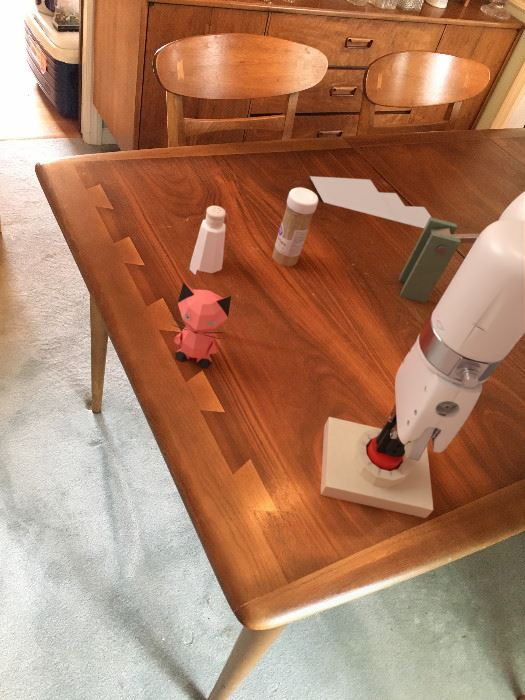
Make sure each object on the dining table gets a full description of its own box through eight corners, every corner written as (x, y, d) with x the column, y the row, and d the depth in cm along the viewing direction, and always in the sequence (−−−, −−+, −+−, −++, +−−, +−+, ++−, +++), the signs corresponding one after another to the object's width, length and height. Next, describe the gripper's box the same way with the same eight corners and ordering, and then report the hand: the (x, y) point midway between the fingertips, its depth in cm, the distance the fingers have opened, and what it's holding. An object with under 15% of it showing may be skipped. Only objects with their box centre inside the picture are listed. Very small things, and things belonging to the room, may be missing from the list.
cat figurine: (162, 365, 73) (170, 298, 64) (177, 329, 78) (186, 263, 69) (214, 379, 73) (229, 315, 64) (225, 343, 78) (241, 279, 69)
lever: (515, 233, 86) (518, 220, 85) (522, 254, 83) (526, 241, 81) (428, 235, 88) (429, 222, 87) (431, 256, 85) (432, 242, 83)
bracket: (439, 287, 98) (478, 222, 88) (444, 322, 91) (487, 256, 82) (374, 270, 97) (405, 203, 87) (375, 304, 91) (409, 236, 81)
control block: (419, 448, 73) (432, 431, 70) (425, 518, 66) (440, 503, 63) (324, 426, 72) (333, 408, 69) (320, 495, 65) (330, 478, 62)
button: (397, 446, 68) (403, 438, 67) (399, 474, 65) (404, 467, 64) (366, 439, 68) (371, 431, 66) (366, 467, 65) (371, 459, 64)
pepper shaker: (212, 285, 85) (224, 226, 77) (182, 270, 86) (190, 210, 78) (228, 267, 89) (241, 209, 81) (199, 253, 90) (209, 194, 82)
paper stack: (407, 184, 120) (409, 181, 120) (462, 259, 105) (463, 256, 105) (308, 179, 113) (309, 176, 112) (351, 259, 97) (353, 256, 97)
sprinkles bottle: (265, 257, 93) (284, 187, 83) (288, 254, 95) (310, 185, 85) (277, 275, 90) (298, 204, 81) (301, 271, 92) (324, 202, 83)
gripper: (513, 417, 47) (423, 514, 60) (485, 302, 57) (414, 406, 71) (429, 397, 47) (357, 499, 60) (416, 284, 57) (357, 392, 70)
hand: (388, 448), depth 65 cm, fingers closed
